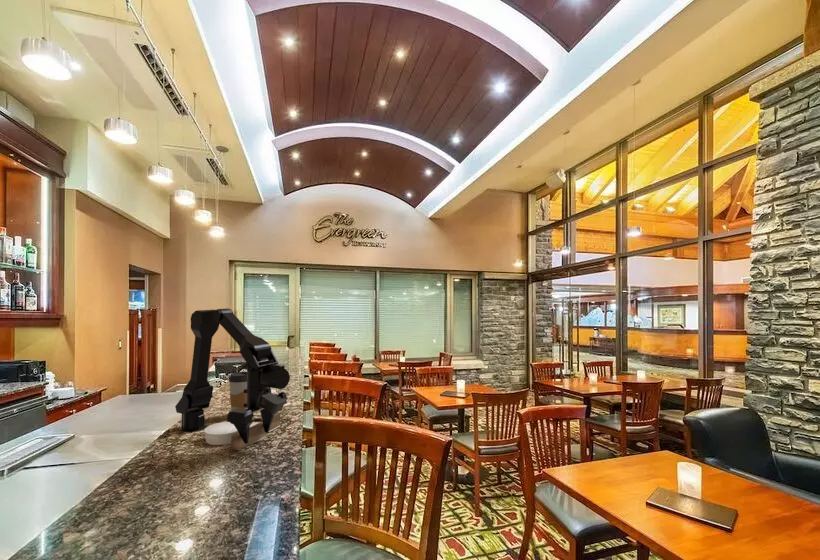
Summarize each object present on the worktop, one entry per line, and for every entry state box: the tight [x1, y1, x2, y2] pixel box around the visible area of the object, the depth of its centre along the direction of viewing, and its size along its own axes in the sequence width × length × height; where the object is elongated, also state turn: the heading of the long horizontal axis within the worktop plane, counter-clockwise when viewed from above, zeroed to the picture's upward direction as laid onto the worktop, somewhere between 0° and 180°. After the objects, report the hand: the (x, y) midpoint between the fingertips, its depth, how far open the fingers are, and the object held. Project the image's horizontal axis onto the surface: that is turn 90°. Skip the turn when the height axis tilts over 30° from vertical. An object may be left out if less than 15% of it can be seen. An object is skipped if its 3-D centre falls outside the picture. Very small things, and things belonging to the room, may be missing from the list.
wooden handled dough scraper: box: [230, 421, 267, 451], centre depth 124 cm, size 16×13×4 cm
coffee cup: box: [228, 371, 248, 411], centre depth 151 cm, size 8×8×15 cm
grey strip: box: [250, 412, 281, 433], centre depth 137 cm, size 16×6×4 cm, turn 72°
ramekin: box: [203, 421, 239, 446], centre depth 125 cm, size 11×11×5 cm
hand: (256, 437), depth 122 cm, fingers open, 9 cm apart
